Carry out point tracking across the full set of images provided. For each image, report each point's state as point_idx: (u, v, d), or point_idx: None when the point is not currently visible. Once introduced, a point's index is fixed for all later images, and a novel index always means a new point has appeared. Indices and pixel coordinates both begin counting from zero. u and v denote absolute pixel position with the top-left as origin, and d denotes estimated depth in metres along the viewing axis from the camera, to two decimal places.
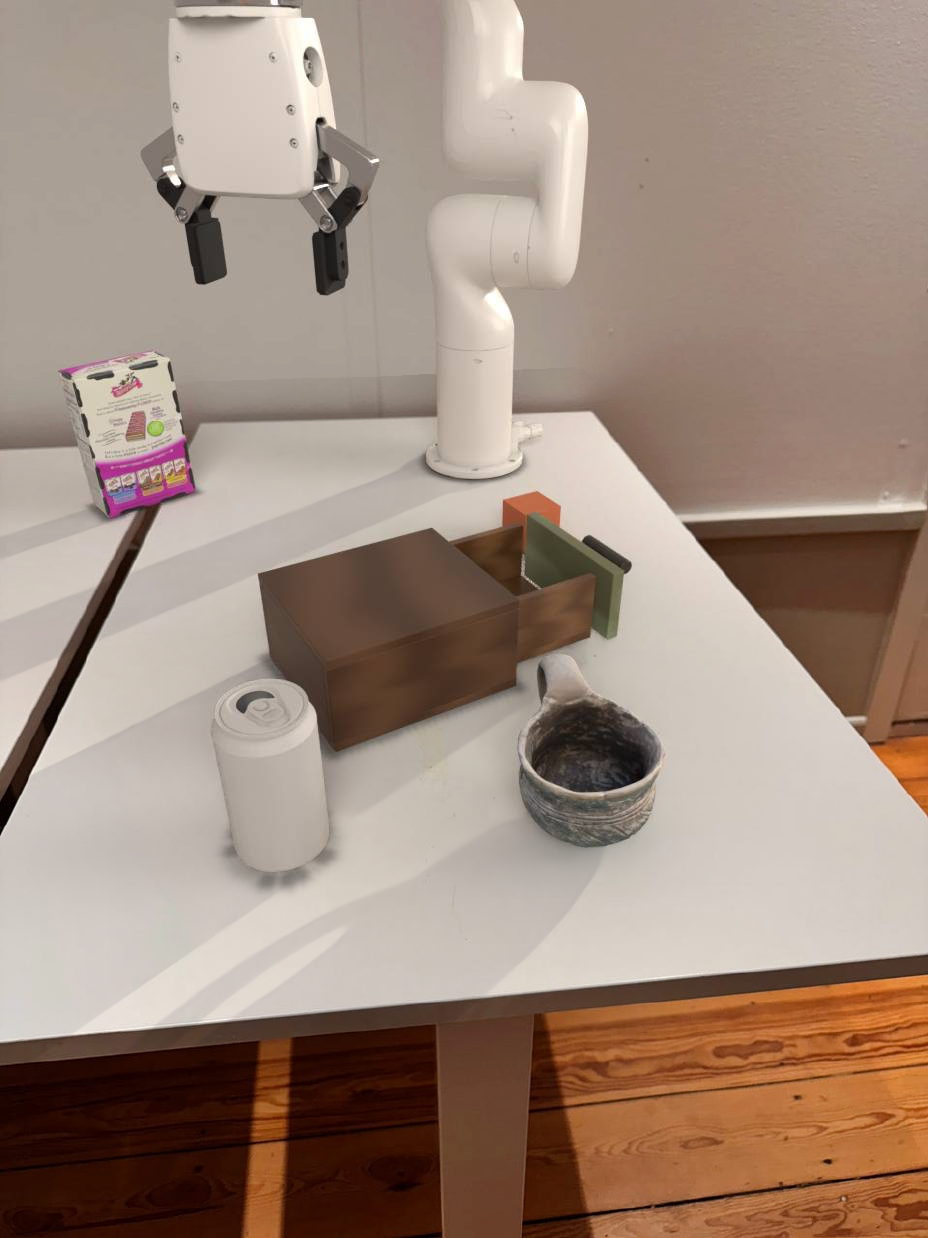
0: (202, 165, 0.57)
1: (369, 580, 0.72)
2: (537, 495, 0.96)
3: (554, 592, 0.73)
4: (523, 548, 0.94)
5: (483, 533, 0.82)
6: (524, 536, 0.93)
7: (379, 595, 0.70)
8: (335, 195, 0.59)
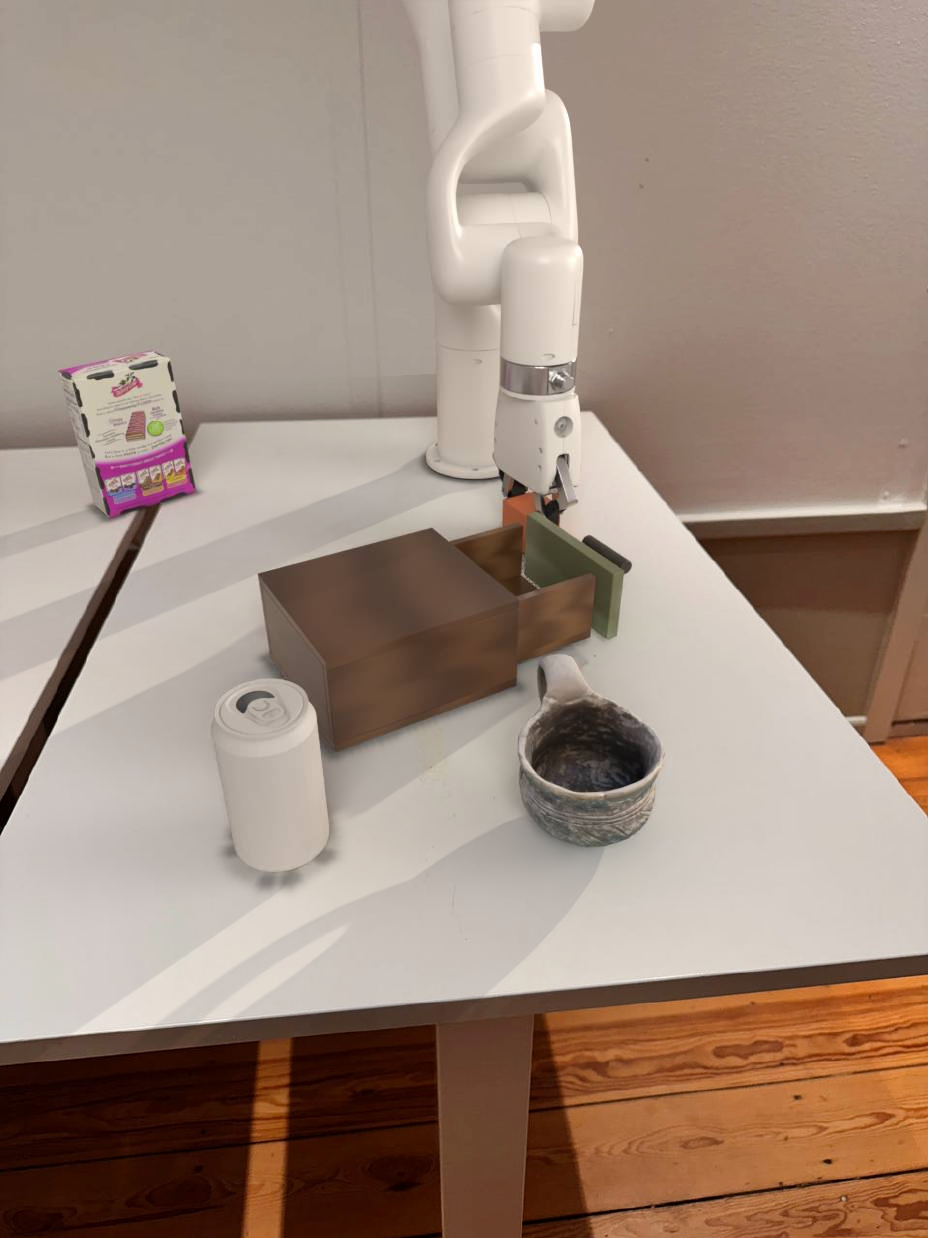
0: (501, 458, 0.93)
1: (369, 580, 0.72)
2: None
3: (554, 592, 0.73)
4: (523, 548, 0.94)
5: (483, 533, 0.82)
6: (524, 536, 0.93)
7: (379, 595, 0.70)
8: None
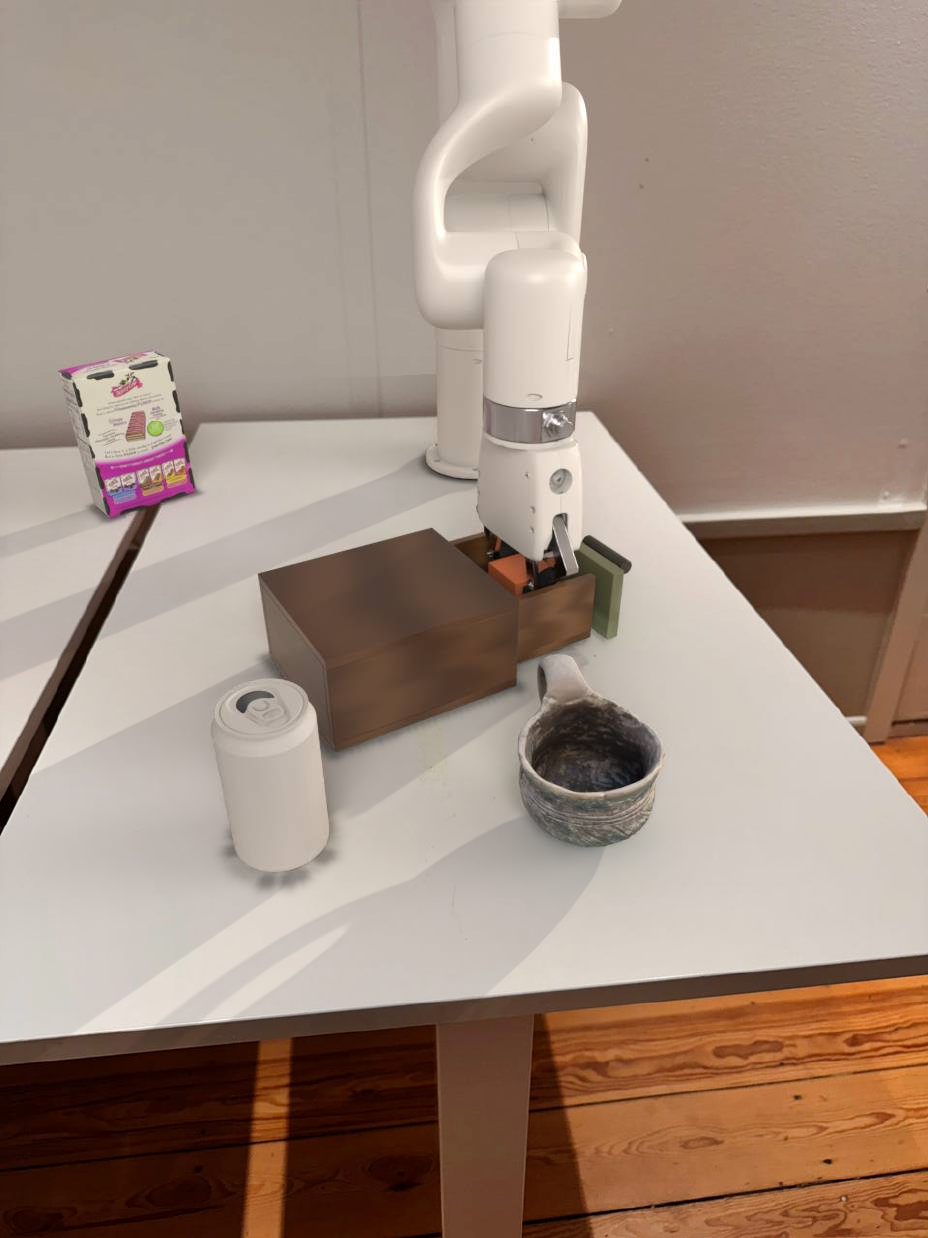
0: (486, 514, 0.77)
1: (369, 580, 0.72)
2: None
3: (553, 592, 0.73)
4: None
5: (483, 533, 0.82)
6: None
7: (379, 595, 0.70)
8: None
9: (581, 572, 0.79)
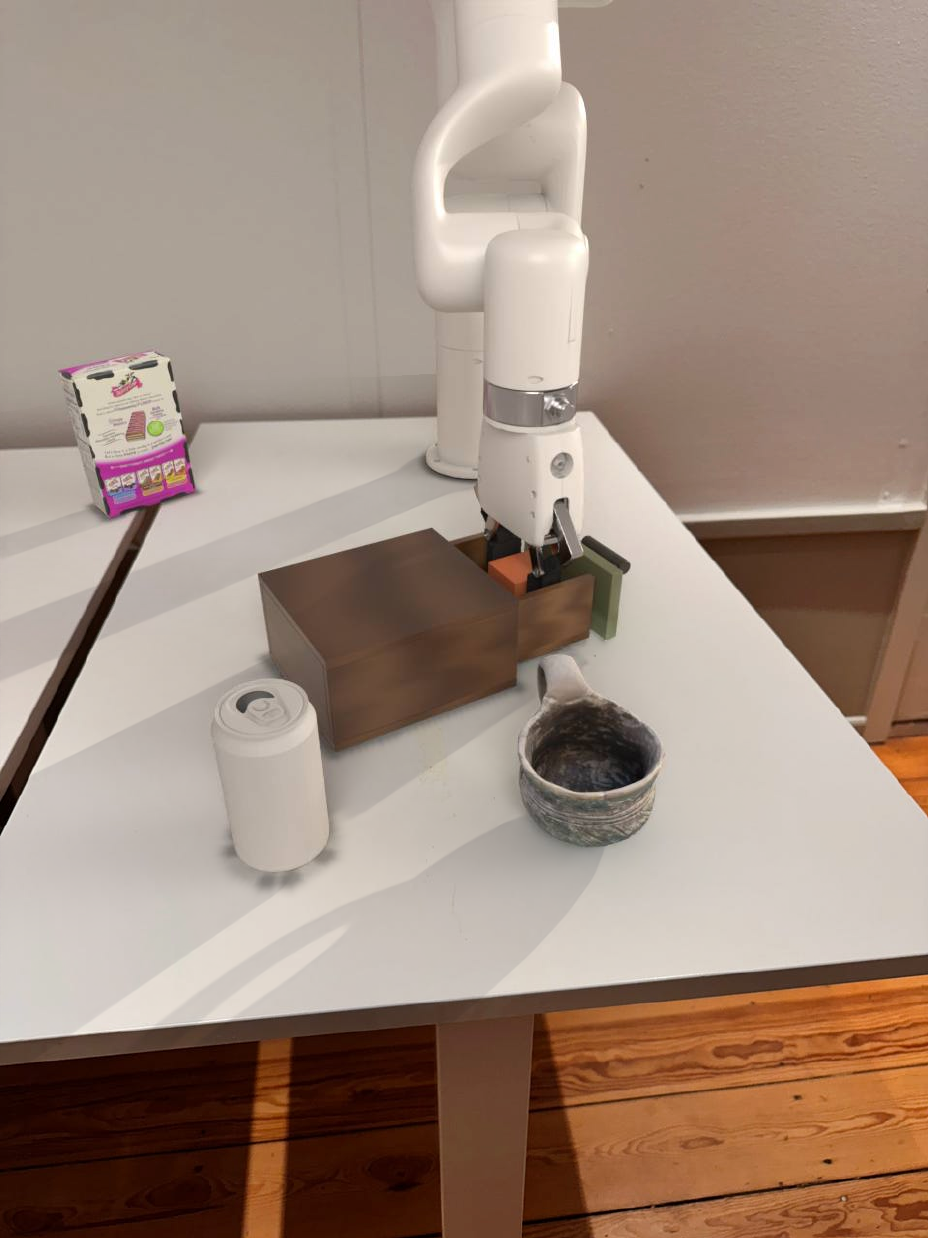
0: (487, 499, 0.76)
1: (369, 580, 0.72)
2: (529, 556, 0.80)
3: (552, 593, 0.73)
4: None
5: (482, 533, 0.82)
6: None
7: (379, 595, 0.70)
8: None
9: (580, 572, 0.79)
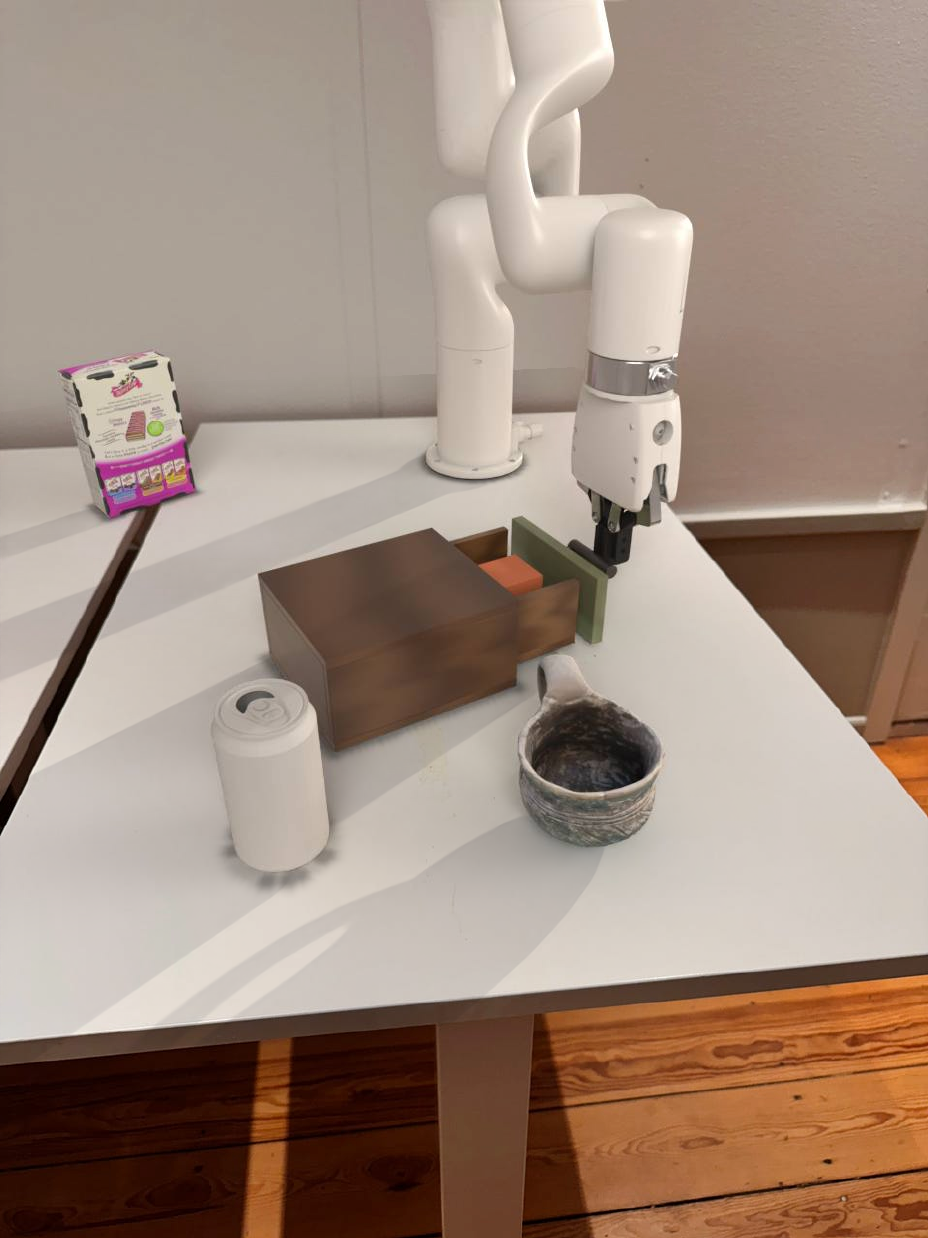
0: (581, 468, 0.80)
1: (369, 580, 0.72)
2: (515, 560, 0.79)
3: (537, 598, 0.73)
4: None
5: (467, 537, 0.81)
6: None
7: (379, 595, 0.70)
8: None
9: (566, 577, 0.78)
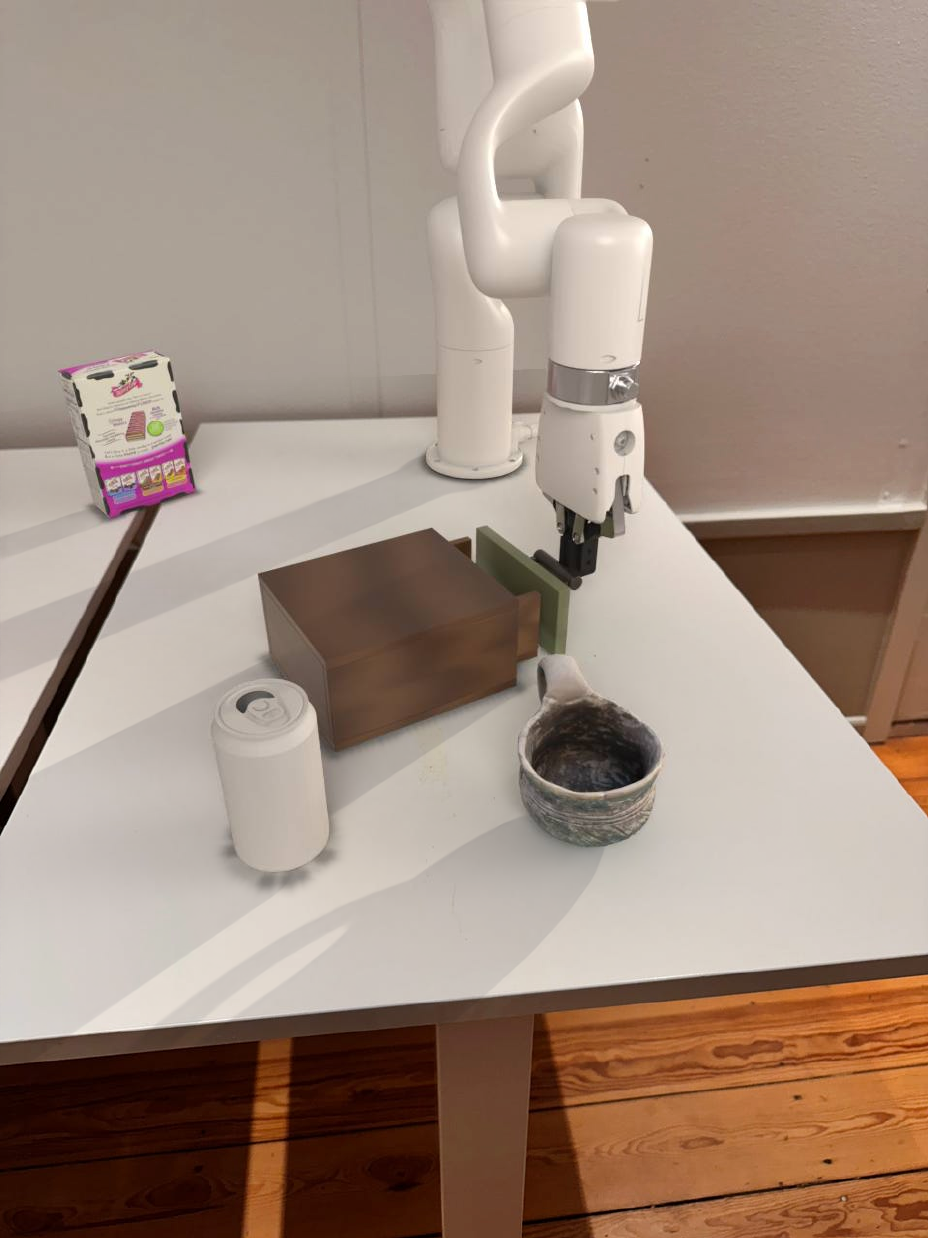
0: (545, 478, 0.78)
1: (369, 580, 0.72)
2: None
3: None
4: None
5: None
6: None
7: (379, 595, 0.70)
8: None
9: (528, 589, 0.77)
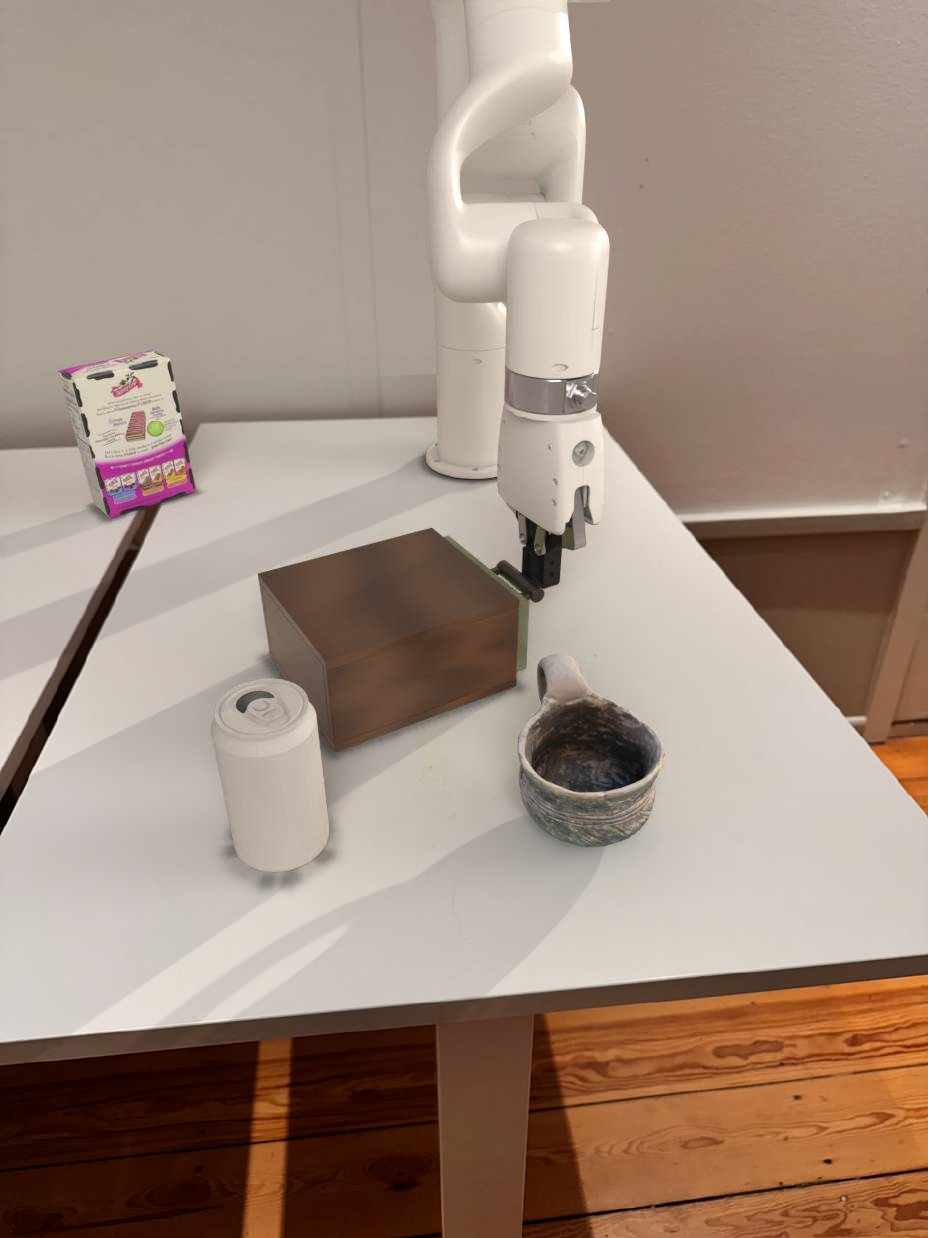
0: (506, 488, 0.77)
1: (369, 580, 0.72)
2: None
3: None
4: None
5: None
6: None
7: (379, 595, 0.70)
8: None
9: None
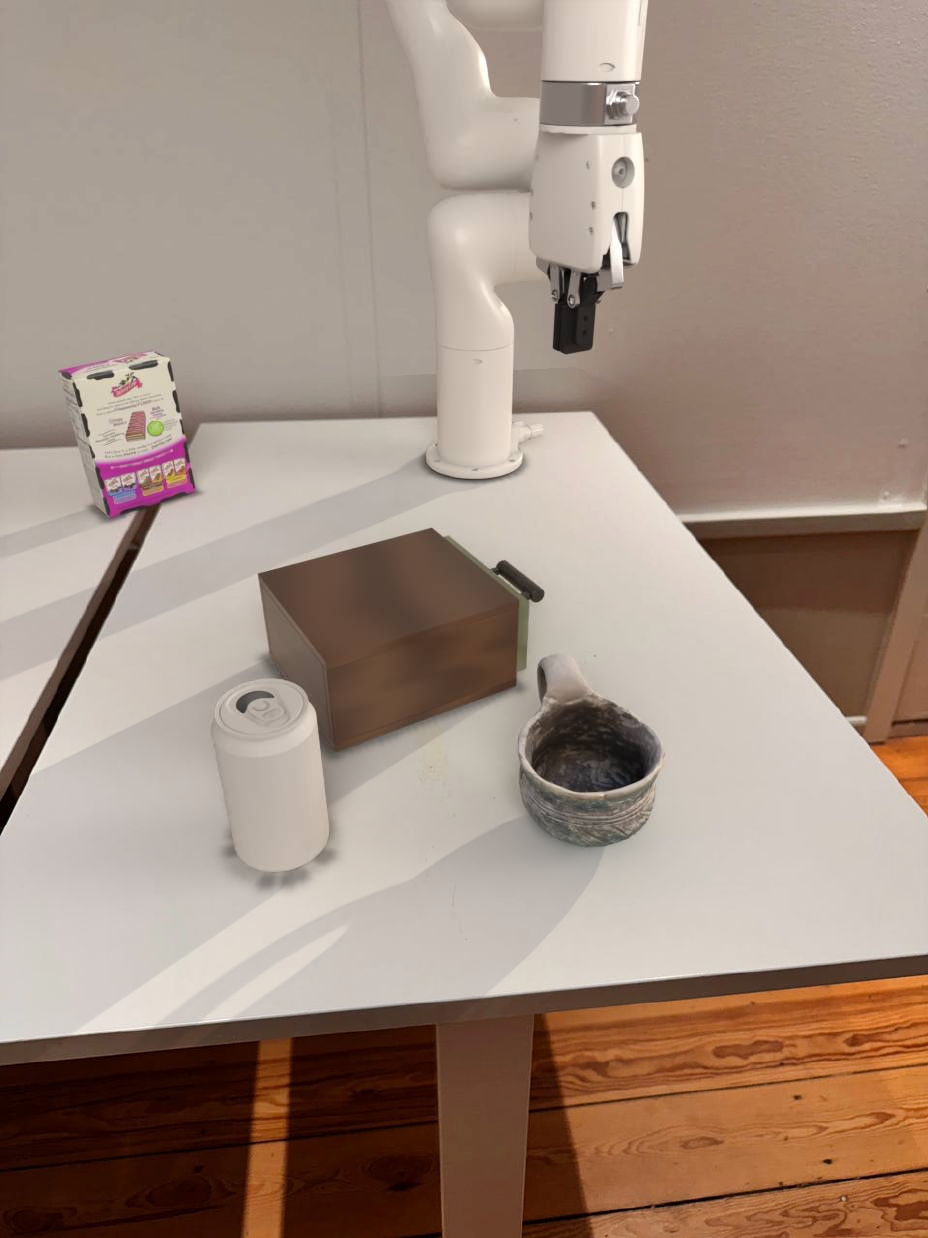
0: (539, 237, 0.74)
1: (369, 580, 0.72)
2: None
3: None
4: None
5: None
6: None
7: (379, 595, 0.70)
8: None
9: None
